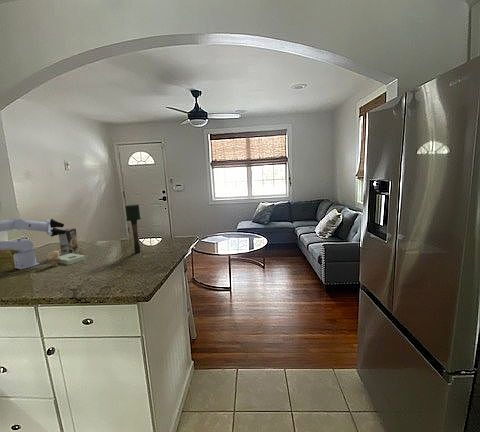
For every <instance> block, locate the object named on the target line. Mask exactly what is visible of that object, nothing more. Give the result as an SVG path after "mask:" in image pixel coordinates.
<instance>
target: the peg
mask: <svg viewBox="0 0 480 432" xmlns="http://www.w3.org/2000/svg"><path fill="white" fill-rule="evenodd" d="M46 256H47V262H48V264H49V265H51V267H52V268H53V267H58V266H59V263H58V262H60V256H61V255H60V251H59V250H53V251H48V252H47V253H46Z"/></svg>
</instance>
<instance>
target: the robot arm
mask: <svg viewBox="0 0 480 432" xmlns="http://www.w3.org/2000/svg"><path fill="white" fill-rule="evenodd" d="M64 227H65V223H62V222H60V221H57V220H55V219H54V218H51V219H48V218H47V219H46V220H45V221H40V220H30V219H21V218H10V219H5V220H3V219H0V232H7V231H13V230H17V231H21V230H27V231H33V232H34V231H35V232H45V233H46V235H47V236H50V237H55V236H59V235H60V234H65V232H66V231H65V230H66V229H60V228H64ZM3 250H10V251H11V250H13V251H18V252H16V253H14V254H13V255H12V257H13V262H14V269H18V270H25V269H28V268H32V267H36V266H39V265H40V262H39V263H38V262H37V259H36V254H35V253H36V252H35V249H34V244H33V242H32V241H31V240H30V239H28V238H25V237H23V238H21V239H14V240H13V239H12V240H0V251H3Z"/></svg>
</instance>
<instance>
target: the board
mask: <svg viewBox="0 0 480 432" xmlns="http://www.w3.org/2000/svg"><path fill="white" fill-rule="evenodd" d="M59 256H60V262H58V264H62V265H67V266H69V265H73V264H76V263H79V262H83V261H86V258H87V257H86V255H84V254H83V255H82V254H78V253H76V254H73V253H70V254H66V255H62V254H61V255H59Z"/></svg>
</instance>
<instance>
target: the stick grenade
mask: <svg viewBox="0 0 480 432" xmlns="http://www.w3.org/2000/svg"><path fill="white" fill-rule="evenodd" d="M124 209H125V214H126V221H127V222H130V223H131V229H132V230H131V231H132V234H133V248H134V249H133V250H134V253H135V254H139V253H141V246H140V242H139V234H138V233H139V232H138V221H140V220H141V219H142V218H141V211H140V205H139V204H129V205H125V208H124Z"/></svg>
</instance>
